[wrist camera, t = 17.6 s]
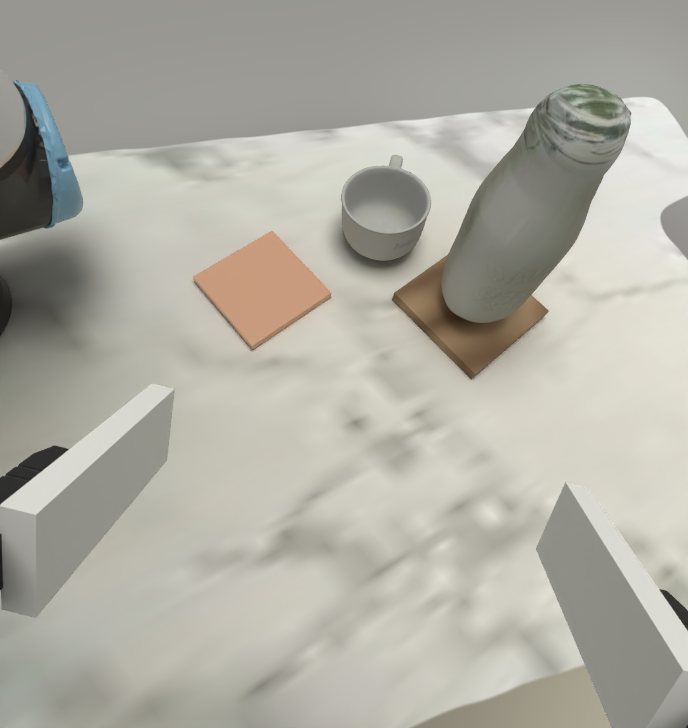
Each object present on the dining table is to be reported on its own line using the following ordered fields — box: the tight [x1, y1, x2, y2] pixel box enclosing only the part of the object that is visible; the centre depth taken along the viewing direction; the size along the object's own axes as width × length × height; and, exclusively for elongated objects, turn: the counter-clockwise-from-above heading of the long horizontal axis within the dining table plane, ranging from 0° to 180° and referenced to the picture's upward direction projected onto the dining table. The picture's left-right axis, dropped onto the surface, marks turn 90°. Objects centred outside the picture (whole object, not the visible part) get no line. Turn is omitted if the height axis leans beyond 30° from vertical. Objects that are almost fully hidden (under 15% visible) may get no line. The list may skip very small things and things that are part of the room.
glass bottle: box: [441, 84, 631, 323], centre depth 48 cm, size 10×10×28 cm
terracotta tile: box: [193, 231, 331, 350], centre depth 60 cm, size 12×12×1 cm
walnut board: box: [392, 255, 548, 379], centre depth 61 cm, size 14×14×2 cm
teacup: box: [341, 155, 431, 261], centre depth 62 cm, size 14×11×8 cm
